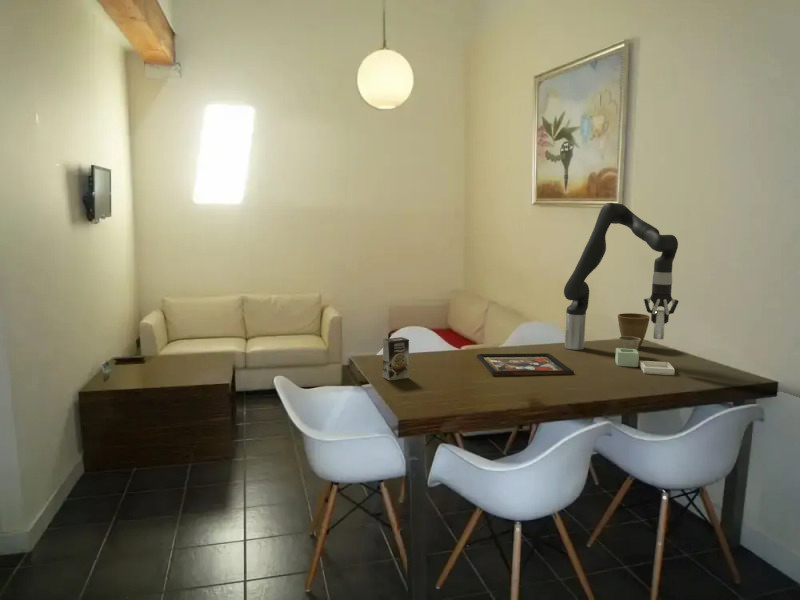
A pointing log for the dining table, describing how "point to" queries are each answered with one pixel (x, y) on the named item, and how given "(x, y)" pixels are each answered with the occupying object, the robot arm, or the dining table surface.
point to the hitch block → (626, 357)
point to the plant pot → (633, 325)
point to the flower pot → (629, 342)
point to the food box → (395, 358)
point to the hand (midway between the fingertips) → (659, 322)
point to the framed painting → (523, 364)
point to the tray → (656, 367)
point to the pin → (659, 324)
